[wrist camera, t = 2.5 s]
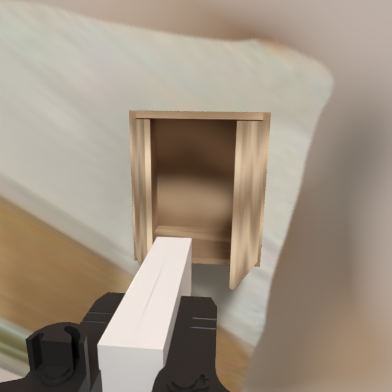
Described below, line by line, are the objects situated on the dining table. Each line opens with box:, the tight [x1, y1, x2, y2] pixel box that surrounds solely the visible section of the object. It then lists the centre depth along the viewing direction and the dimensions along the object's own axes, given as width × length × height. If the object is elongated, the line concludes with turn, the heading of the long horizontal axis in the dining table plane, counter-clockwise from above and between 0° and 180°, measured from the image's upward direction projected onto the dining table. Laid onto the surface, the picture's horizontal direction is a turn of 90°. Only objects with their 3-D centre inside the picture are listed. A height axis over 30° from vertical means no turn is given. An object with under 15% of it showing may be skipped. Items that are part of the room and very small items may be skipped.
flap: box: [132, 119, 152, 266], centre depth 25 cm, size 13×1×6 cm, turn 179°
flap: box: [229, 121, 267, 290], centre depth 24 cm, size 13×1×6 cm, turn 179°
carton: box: [129, 111, 271, 267], centre depth 32 cm, size 14×12×9 cm
